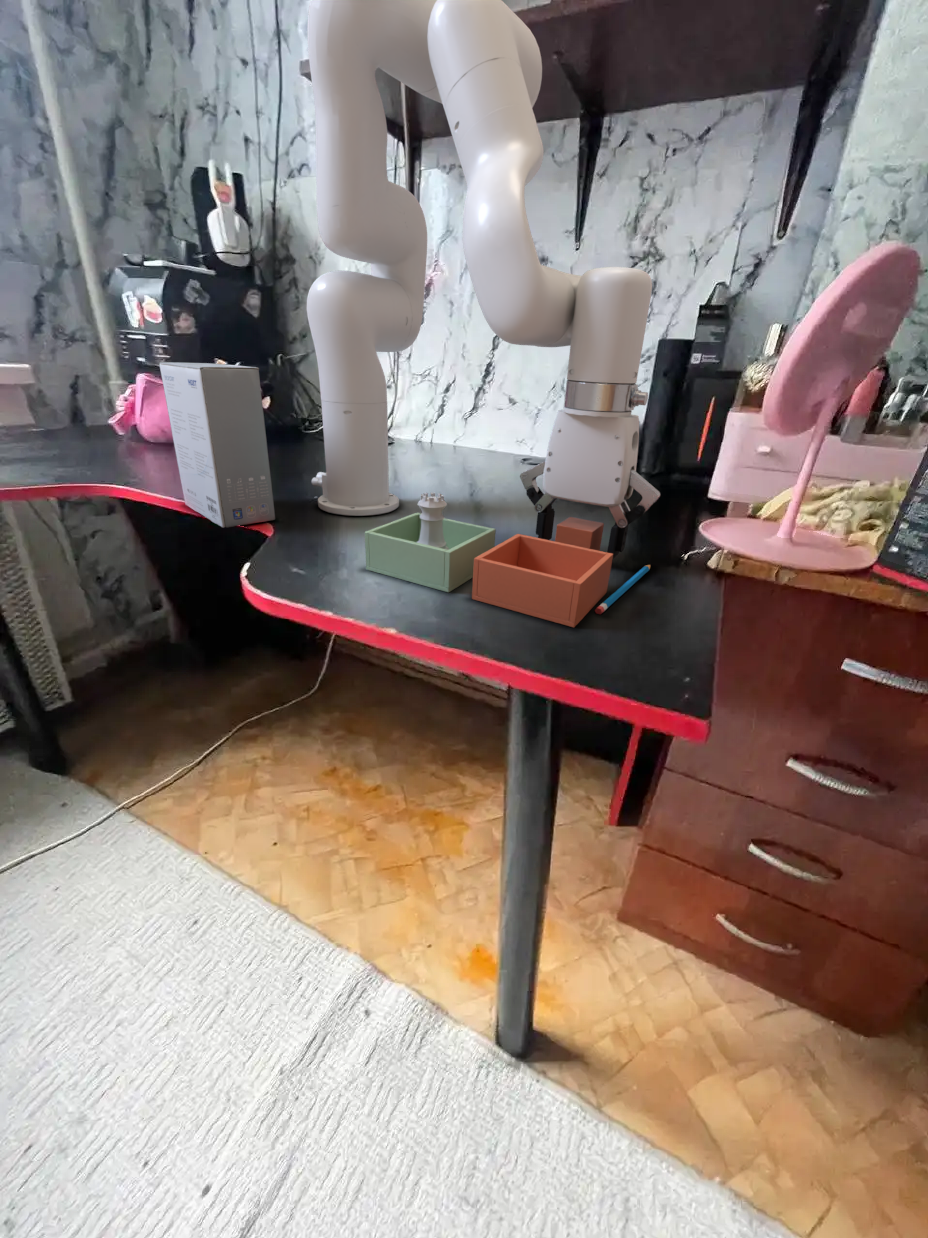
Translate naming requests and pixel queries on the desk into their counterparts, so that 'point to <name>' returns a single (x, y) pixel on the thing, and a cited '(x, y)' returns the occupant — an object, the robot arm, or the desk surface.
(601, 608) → the pencil
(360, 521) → the desk surface
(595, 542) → the terracotta block
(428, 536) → the rook chess piece
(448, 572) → the sage bin
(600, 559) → the terracotta bin
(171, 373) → the hard drive box
